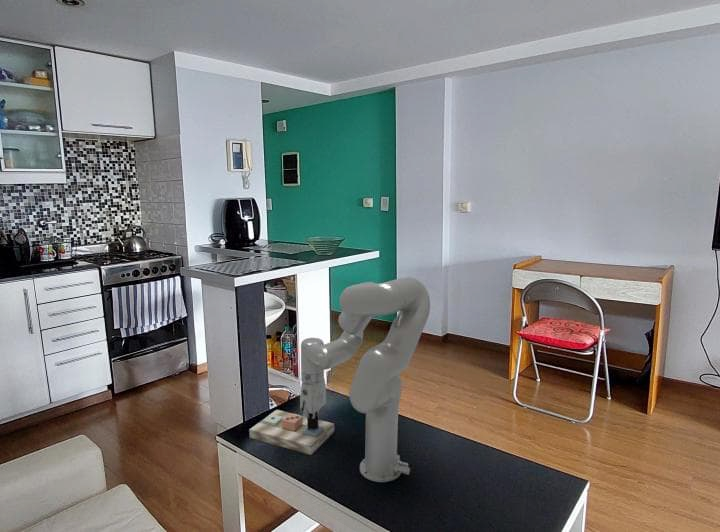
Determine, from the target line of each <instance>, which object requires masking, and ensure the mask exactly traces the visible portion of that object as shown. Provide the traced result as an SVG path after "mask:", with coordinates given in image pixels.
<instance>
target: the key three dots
mask: <svg viewBox="0 0 720 532" xmlns="http://www.w3.org/2000/svg"><path fill="white" fill-rule="evenodd" d="M294 414H295V413H293V414H289V415H288V416H287V417H285V418H284V419H283V420H282V428H283V429H287V430H291V431H296V430H297V429H298V428H299V427H301V426H302V425H303V417H302V416H303V415H301V416H298V415H299V414H297V415H294Z"/></svg>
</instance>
